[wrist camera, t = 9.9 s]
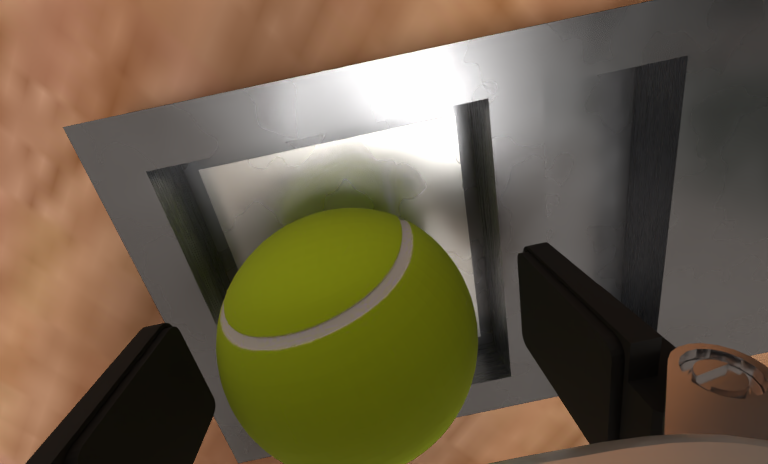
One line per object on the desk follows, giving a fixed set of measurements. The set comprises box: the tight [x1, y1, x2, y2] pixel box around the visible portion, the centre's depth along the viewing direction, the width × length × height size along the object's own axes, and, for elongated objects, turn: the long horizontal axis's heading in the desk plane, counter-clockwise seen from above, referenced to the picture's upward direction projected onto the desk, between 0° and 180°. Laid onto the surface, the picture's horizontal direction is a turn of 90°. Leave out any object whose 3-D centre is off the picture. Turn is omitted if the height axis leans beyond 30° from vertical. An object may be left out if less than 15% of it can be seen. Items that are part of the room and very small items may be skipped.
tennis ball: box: [216, 208, 478, 464], centre depth 10 cm, size 7×7×7 cm
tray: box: [63, 0, 768, 463], centre depth 13 cm, size 13×22×3 cm, turn 101°
